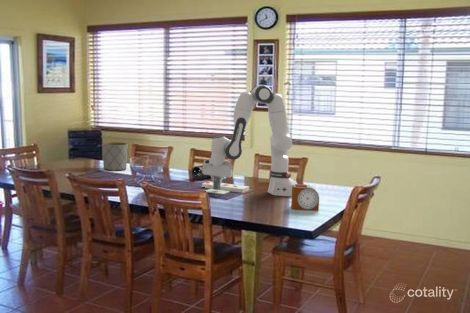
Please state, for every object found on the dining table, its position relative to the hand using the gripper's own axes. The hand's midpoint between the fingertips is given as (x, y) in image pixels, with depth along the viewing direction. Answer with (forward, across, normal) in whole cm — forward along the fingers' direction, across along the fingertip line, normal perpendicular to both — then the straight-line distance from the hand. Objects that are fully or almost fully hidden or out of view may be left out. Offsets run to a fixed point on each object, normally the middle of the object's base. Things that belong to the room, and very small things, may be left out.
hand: (217, 182), depth 339 cm
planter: (+6, +103, -29) cm, 107 cm away
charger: (+4, 0, 0) cm, 4 cm away
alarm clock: (+6, -62, +11) cm, 63 cm away
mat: (+6, 0, 0) cm, 6 cm away
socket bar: (+6, 0, -12) cm, 13 cm away
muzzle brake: (+6, +28, -41) cm, 50 cm away
